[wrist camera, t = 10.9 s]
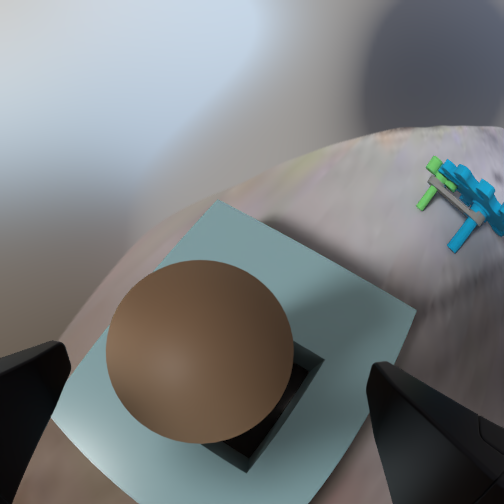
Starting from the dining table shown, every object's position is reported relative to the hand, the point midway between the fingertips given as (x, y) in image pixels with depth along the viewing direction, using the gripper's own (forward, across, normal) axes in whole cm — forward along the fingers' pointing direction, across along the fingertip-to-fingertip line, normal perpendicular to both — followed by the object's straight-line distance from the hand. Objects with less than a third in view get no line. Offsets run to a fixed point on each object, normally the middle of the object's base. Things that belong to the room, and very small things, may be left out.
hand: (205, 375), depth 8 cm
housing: (+8, 0, +7) cm, 10 cm away
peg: (+8, 0, +7) cm, 10 cm away
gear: (+17, -19, -2) cm, 26 cm away
